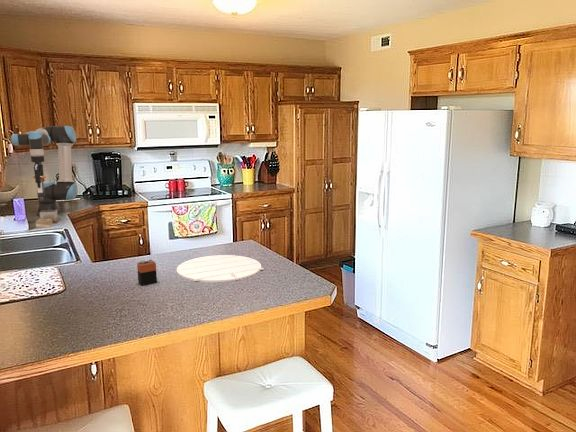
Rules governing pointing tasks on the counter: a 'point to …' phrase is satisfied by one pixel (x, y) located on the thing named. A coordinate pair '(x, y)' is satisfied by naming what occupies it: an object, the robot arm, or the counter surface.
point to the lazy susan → (219, 268)
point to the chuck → (50, 215)
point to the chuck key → (42, 188)
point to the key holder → (43, 223)
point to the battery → (147, 272)
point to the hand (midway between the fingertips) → (41, 192)
